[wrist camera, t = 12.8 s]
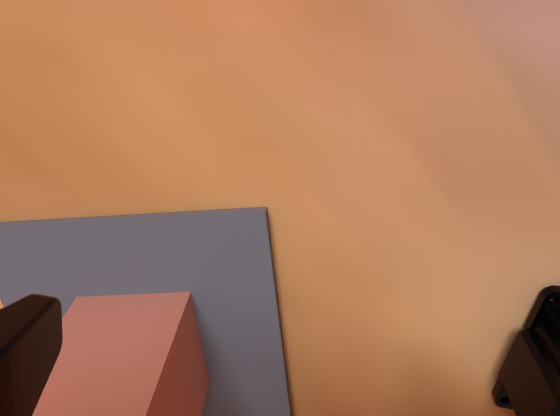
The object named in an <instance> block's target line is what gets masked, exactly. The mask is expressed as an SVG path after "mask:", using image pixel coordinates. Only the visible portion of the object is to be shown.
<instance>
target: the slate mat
mask: <svg viewBox="0 0 560 416" xmlns="http://www.w3.org/2000/svg"><path fill="white" fill-rule="evenodd" d="M176 292H191V296H192V301H193V305H194V310H195V315H196V319H197V324H198V329H199V333H200V338H201V343H202V347H203V352H204V357H205V362H206V366H207V371H208V376H209V380H210V381H209V385H208V389H207V393H206V397H205V401H204V405H203V409H202V413H201V416H292V413H291V405H290V396H289V388H288V380H287V371H286V363H285V355H284V347H283V338H282V330H281V322H280V314H279V305H278V297H277V289H276V281H275V272H274V264H273V256H272V248H271V239H270V231H269V223H268V215H267V207H258V208H240V209H223V210H206V211H189V212H171V213H154V214H137V215H120V216H103V217H85V218H68V219H51V220H34V221H16V222H0V299H1V301H2V303H3V306H4V307H6V306H8V305H10V304H12V303H14V302H16V301H18V300H20V299H22V298H24V297H26V296H28V295H30V294H41V295H47V296H52V297H56V298H58V299H59V300H60V302H61V306H62V318H63V316H64V315H65V313H66V312H67V311H68V309H69V308H70V306H71V305H72V303H73V302H74V300H75V299H76V297H86V296H108V295H131V294H153V293H176Z"/></svg>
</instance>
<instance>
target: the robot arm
mask: <svg viewBox="0 0 560 416" xmlns="http://www.w3.org/2000/svg"><path fill="white" fill-rule="evenodd" d="M553 297H558V298H557V299H555V300H553V301H550V300H551V298H553ZM62 341H63V333H62V306H61V302H60V300H59V299H58V298H56V297H52V296H47V295H41V294H30V295H28V296H26V297H24V298H22V299H20V300H18V301H16V302H14V303H12V304H10V305H8V306H6V307H4V308H2V309H0V416H32V415H33V413H34V410H35V408H36V406H37V404H38V401H39V399H40V397H41V395H42V392H43V390H44V388H45V385H46V383H47V381H48V379H49V376H50V374H51V372H52V370H53V367H54V365H55V363H56V361H57V358H58V356H59V354H60V350H61V347H62ZM499 376H500V377H499V379H498V381H497V383H496V385H495V387H494V389H493V391H492V395H493V398H494V401H495V403H496V404H497V405H498V406H500V407H503V408H509V409H514V412H515V414H516V416H560V286H549V287H546V288H545V289H543V290H542V291H541V293H540V294H539V297H538V299H537V301H536V303H535V305H534V307H533V309H532V311H531V313H530V315H529V317H528V319H527V321H526V323H525V325H524V327H523V329H522V330H521V331H519V333H518V335H517V337H516V339H515V341H514V343H513V345H512V347H511V349H510V351H509V353H508V355H507V357H506V359H505V361H504V364H503V366H502V368H501V370H500V372H499ZM505 395H507V396H505ZM502 396H505V397H502Z"/></svg>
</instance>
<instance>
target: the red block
mask: <svg viewBox="0 0 560 416" xmlns="http://www.w3.org/2000/svg"><path fill="white" fill-rule="evenodd" d="M62 333H63V341H62V347H61V350H60V354H59V356H58V358H57V361H56V363H55V365H54V367H53V370H52V372H51V374H50V376H49V379H48V381H47V383H46V385H45V388H44V390H43V392H42V395H41V397H40V399H39V401H38V404H37V406H36V408H35V410H34V413H33V415H32V416H201V413H202V409H203V405H204V401H205V397H206V393H207V389H208V385H209V381H210V380H209V376H208V371H207V366H206V362H205V357H204V352H203V347H202V343H201V338H200V333H199V329H198V324H197V319H196V315H195V310H194V305H193V301H192V296H191V292H176V293H153V294H131V295H108V296H86V297H76V299H75V300H74V302H73V303H72V305H71V306H70V308H69V309H68V311H67V312H66V313H65V315H64V316H63V318H62Z"/></svg>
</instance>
